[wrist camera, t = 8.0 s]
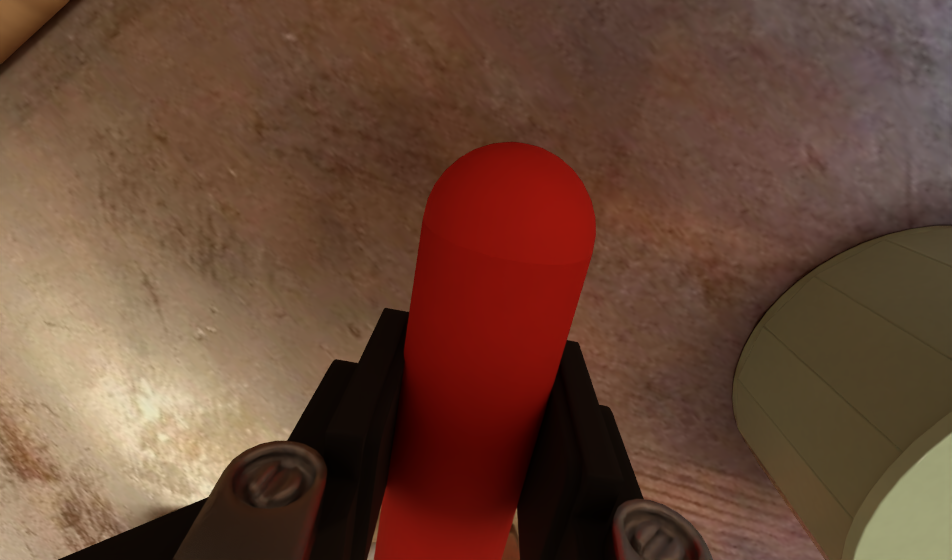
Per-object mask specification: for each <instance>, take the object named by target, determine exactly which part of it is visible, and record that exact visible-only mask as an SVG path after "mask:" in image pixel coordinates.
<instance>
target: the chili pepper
mask: <svg viewBox="0 0 952 560" xmlns="http://www.w3.org/2000/svg"><path fill="white" fill-rule="evenodd" d="M595 236H596V223H595V214H594V210H593V206H592V201H591V199H590V197H589V195H588V192H587V190H586V188H585V186H584V184H583V182H582V181H581V179H580V178H579V177H578V175H577V174H576V173H575V172H574V170H573V169H572V168H571V167H570V166H568V165H567V164H566V163H565V162H564V161H563V160H562V159H560V158H559V157H558V156H556V155H554V154H552V153H550V152H548V151H547V150H545V149H543V148H540V147H537V146H534V145H529V144H524V143H518V142H503V143H493V144H489V145H486V146H483V147H480V148H477V149H474V150H473V151H471V152H469V153H467V154H465V155H464V156H462V157H460V158H459V159H458V160H457V161H455V162H454V163H453V164H452V165H451V166H450V167H449V168H447V169H446V170H445V171H444V173H443V174H442V175H441V177H440V178H439V179H438V181H437V182H436V183H435V185H434V187H433V189H432V191H431V193H430V195H429V197H428V200H427V204H426V208H425V212H424V216H423V221H422V228H421V235H420V242H419V249H418V256H417V263H416V270H415V277H414V284H413V291H412V297H411V304H410V311H409V318H408V325H407V332H406V339H405V346H404V359H405V363H404V370H403V377H402V384H401V391H400V397H399V404H398V411H397V418H396V425H395V432H394V438H393V445H392V452H391V459H390V466H389V472H388V479H387V486H386V490H385V493H384V497H383V501H382V506H381V513H380V520H379V527H378V534H377V541H376V548H375V554H374V560H501V559H502V556H503V552H504V549H505V546H506V542H507V539H508V536H509V532H510V529H511V525H512V522H513V519H514V515H515V512H516V509H517V504H518V501H519V498H520V494H521V491H522V488H523V484H524V481H525V477H526V474H527V471H528V467H529V464H530V461H531V457H532V454H533V451H534V447H535V444H536V440H537V437H538V434H539V430H540V427H541V424H542V420H543V417H544V414H545V410H546V407H547V403H548V400H549V397H550V393H551V390H552V387H553V384H554V381H555V378H556V374H557V371H558V367H559V364H560V361H561V357H562V354H563V351H564V347H565V344H566V341H567V337H568V334H569V330H570V327H571V324H572V320H573V317H574V314H575V310H576V307H577V304H578V300H579V297H580V293H581V290H582V287H583V283H584V280H585V277H586V273H587V270H588V267H589V263H590V260H591V256H592V253H593V247H594V242H595Z"/></svg>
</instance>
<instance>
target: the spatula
mask: <svg viewBox="0 0 952 560" xmlns="http://www.w3.org/2000/svg"><path fill="white" fill-rule="evenodd" d="M69 1H70V0H0V65H1V64H2V63H3V62H4V61H5V60H6V59H7V58H8V57H9V56H10V55H12V54H13V53H14V52H15V51H16V50H17V49H18V48H19V47H20V46H21V45H22V44H23V43H25V42H26V41H27V40H28V39H29V38H30V37H31V36H32V35H33V34H34V33H35V32H36V31H38V30H39V29H40V28H41V27H42V26H43V25H44V24H45V23H46V22H47V21H48V20H49V19H50V18H52V17H53V16H54V15H55V14H56V13H57V12H58V11H59V10H60V9H61V8H62V7H63V6H65V5H66V4H67V3H68V2H69Z"/></svg>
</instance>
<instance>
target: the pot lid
mask: <svg viewBox="0 0 952 560" xmlns="http://www.w3.org/2000/svg"><path fill="white" fill-rule="evenodd" d="M841 560H952V411H951V412H950V413H948V414H947V415H945V416H944V417H942V418H941V419H940V420H939V421H937V422H936V423H935V424H934V425H933V426H931V427H930V428H929V429H928V430H927V431H925V432H924V433H923V434H922V435H921V436H919V437H918V438H917V439H916V440H915V441H913V442H912V443H911V444H910V445H909V446H908V447H907V448H906V449H905V450H904V451H903V452H902V453H901V454H900V455H899V456H898V457H897V459H896V460H895V461H894V462H893V463H892V464H891V465H890V466H889V467H888V468H887V469H886V470H885V472H884V473H883V474H882V476H881V477H880V478H879V479H878V481H877V482H876V483H875V484H874V486H873V487H872V488H871V489H870V491H869V492H868V494H867V496H866V497H865V499H864V501H863V502H862V504H861V506H860V507H859V509H858V511H857V512H856V514H855V516H854V519H853V521H852V523H851V526H850V528H849V531H848V533H847V536H846V538H845V543H844V547H843V552H842V556H841Z"/></svg>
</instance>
